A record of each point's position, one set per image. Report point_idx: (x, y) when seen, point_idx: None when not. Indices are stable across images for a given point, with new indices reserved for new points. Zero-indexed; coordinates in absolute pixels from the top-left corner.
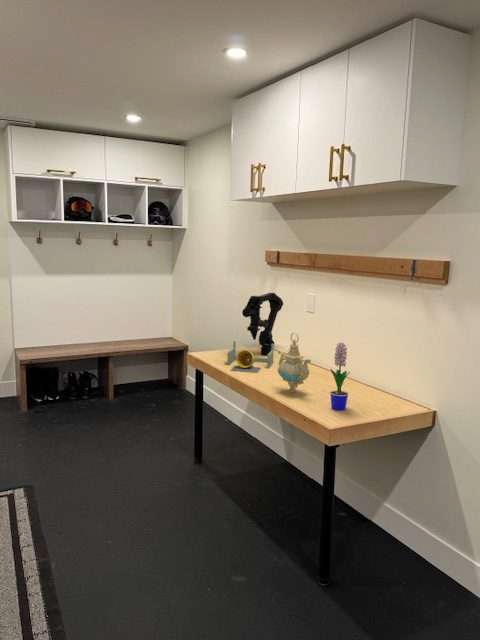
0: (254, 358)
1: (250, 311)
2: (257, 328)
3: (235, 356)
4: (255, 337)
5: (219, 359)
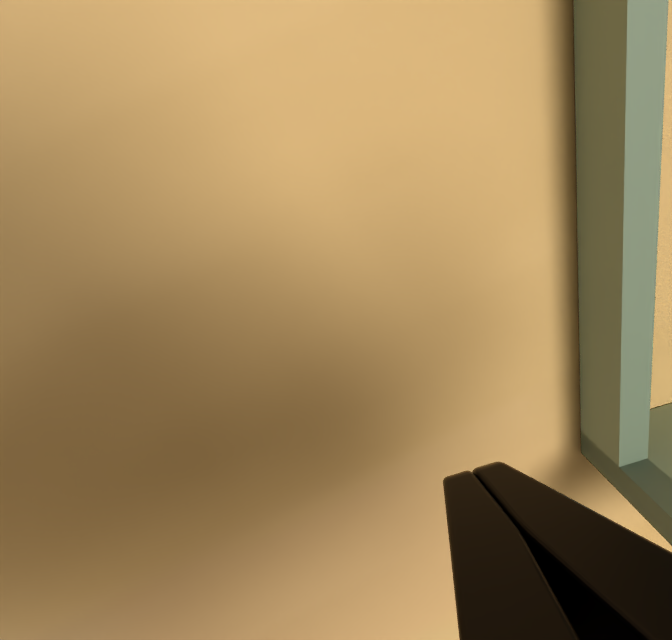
0: (656, 115)
1: None
2: None
3: (641, 452)
4: (605, 525)
5: None
